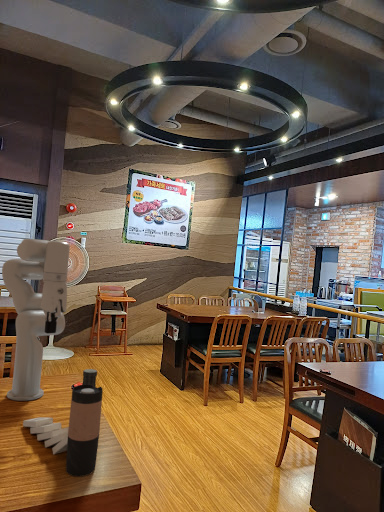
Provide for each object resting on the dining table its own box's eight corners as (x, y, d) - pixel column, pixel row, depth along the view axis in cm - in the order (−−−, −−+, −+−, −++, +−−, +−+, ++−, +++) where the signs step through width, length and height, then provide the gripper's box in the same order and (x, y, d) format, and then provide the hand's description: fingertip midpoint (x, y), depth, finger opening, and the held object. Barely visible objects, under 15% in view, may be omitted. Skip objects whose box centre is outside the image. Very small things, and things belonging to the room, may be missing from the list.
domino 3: (37, 434, 109) (51, 430, 102) (53, 430, 112) (69, 426, 106) (37, 440, 108) (52, 437, 102) (54, 436, 112) (69, 433, 105)
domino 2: (30, 427, 113) (43, 426, 106) (46, 423, 116) (61, 422, 109) (30, 433, 112) (44, 432, 106) (47, 429, 116) (61, 428, 109)
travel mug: (66, 479, 91) (74, 394, 91) (63, 463, 98) (70, 384, 98) (98, 474, 94) (105, 393, 94) (93, 459, 101) (100, 383, 101)
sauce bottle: (88, 445, 108) (94, 375, 108) (68, 441, 109) (74, 372, 110) (98, 435, 114) (104, 369, 115) (79, 432, 116) (85, 366, 116)
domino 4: (44, 441, 105) (59, 433, 99) (61, 436, 109) (77, 429, 103) (45, 447, 105) (60, 440, 99) (62, 443, 108) (78, 436, 102)
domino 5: (52, 448, 102) (67, 435, 97) (69, 443, 106) (85, 430, 100) (53, 454, 101) (68, 441, 96) (70, 449, 105) (86, 437, 99)
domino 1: (23, 420, 117) (35, 421, 110) (39, 417, 120) (52, 417, 114) (23, 426, 117) (36, 427, 110) (39, 422, 120) (53, 423, 113)
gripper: (76, 280, 125) (71, 336, 124) (56, 276, 136) (51, 328, 135) (54, 279, 120) (48, 337, 119) (35, 275, 130) (29, 329, 130)
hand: (50, 332), depth 127 cm, fingers closed
